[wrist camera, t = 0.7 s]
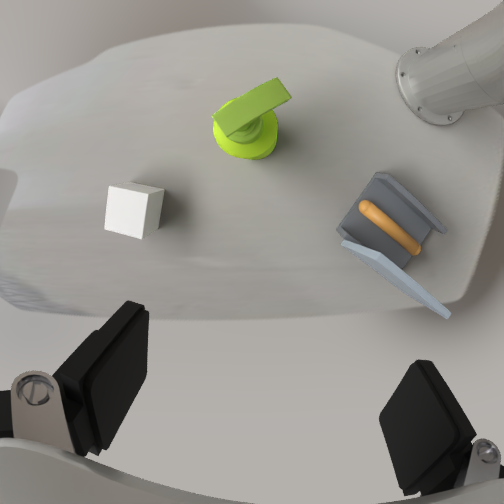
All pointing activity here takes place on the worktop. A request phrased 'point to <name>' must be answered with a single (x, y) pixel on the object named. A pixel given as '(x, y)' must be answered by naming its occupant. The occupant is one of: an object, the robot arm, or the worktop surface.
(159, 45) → the worktop surface
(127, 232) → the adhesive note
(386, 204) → the cable duct
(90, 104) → the worktop surface
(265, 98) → the soap dispenser
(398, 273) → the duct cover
